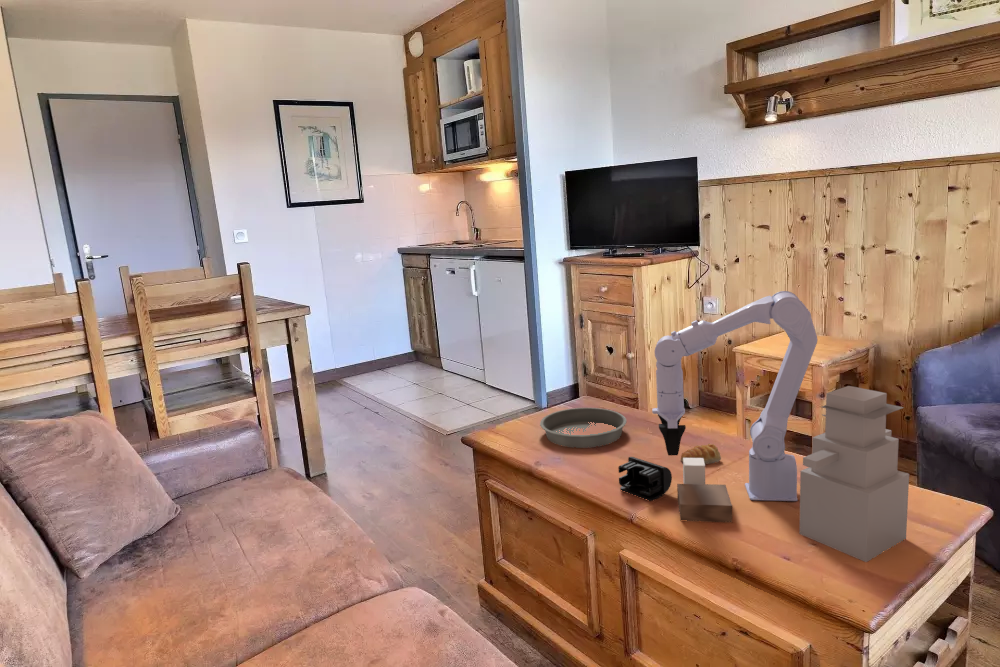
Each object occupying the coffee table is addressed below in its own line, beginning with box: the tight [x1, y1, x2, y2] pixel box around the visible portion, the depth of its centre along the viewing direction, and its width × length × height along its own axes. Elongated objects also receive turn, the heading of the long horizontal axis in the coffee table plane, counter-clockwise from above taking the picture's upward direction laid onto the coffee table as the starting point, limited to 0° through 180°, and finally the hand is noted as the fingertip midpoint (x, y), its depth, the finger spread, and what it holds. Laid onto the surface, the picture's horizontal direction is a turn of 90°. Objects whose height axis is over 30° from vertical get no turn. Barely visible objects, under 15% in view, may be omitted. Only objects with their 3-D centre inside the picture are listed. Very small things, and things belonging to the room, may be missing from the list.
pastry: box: [680, 443, 722, 465], centre depth 162 cm, size 9×7×4 cm
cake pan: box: [539, 407, 628, 449], centre depth 186 cm, size 25×25×4 cm
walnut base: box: [676, 483, 733, 523], centre depth 136 cm, size 10×10×4 cm
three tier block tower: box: [798, 385, 910, 563], centre depth 120 cm, size 13×24×28 cm, turn 121°
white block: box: [682, 458, 706, 484], centre depth 148 cm, size 4×4×6 cm
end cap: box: [618, 456, 673, 502], centre depth 147 cm, size 10×7×7 cm
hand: (671, 448), depth 146 cm, fingers open, 7 cm apart
